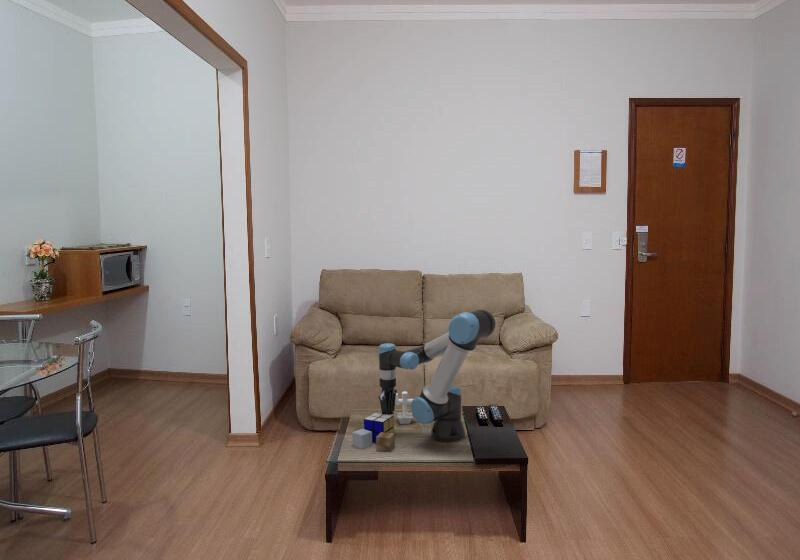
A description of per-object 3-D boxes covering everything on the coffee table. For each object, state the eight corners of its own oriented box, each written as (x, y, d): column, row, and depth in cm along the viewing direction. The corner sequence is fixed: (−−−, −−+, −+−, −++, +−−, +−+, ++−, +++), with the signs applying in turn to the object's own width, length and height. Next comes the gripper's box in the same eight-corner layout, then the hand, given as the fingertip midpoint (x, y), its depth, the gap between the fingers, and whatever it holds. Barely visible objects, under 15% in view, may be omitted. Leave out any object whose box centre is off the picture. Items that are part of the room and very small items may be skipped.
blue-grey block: (372, 445, 250) (371, 431, 249) (362, 449, 245) (361, 435, 245) (362, 441, 254) (362, 428, 253) (352, 445, 249) (352, 432, 249)
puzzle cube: (363, 441, 254) (363, 419, 253) (375, 433, 263) (374, 412, 262) (383, 444, 250) (383, 422, 249) (394, 437, 259) (394, 415, 258)
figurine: (415, 425, 274) (414, 394, 273) (395, 425, 274) (394, 394, 273) (414, 420, 281) (414, 389, 280) (395, 420, 281) (395, 390, 280)
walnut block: (394, 447, 247) (394, 433, 246) (390, 452, 241) (389, 438, 241) (381, 445, 249) (381, 432, 248) (376, 450, 243) (376, 436, 243)
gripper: (387, 373, 269) (388, 422, 271) (373, 380, 258) (374, 431, 260) (401, 375, 266) (402, 425, 268) (387, 382, 254) (388, 434, 257)
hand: (388, 428), depth 264 cm, fingers closed
